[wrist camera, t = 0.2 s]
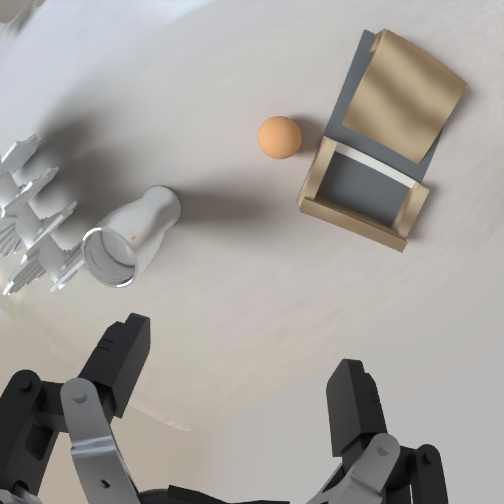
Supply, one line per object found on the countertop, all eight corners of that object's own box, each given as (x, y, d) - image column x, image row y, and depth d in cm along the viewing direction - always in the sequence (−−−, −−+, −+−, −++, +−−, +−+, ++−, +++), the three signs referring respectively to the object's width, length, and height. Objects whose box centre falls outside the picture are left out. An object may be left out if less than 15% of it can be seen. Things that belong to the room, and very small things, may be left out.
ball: (266, 110, 31) (265, 109, 27) (305, 124, 32) (311, 126, 27) (252, 147, 34) (249, 153, 29) (291, 161, 34) (294, 169, 30)
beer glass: (141, 178, 36) (77, 218, 23) (188, 188, 37) (141, 235, 23) (136, 224, 39) (81, 279, 26) (180, 235, 40) (139, 298, 26)
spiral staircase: (89, 251, 47) (20, 149, 37) (127, 229, 36) (37, 92, 26) (26, 321, 35) (-52, 207, 25) (34, 329, 24) (-70, 162, 14)
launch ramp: (373, 36, 26) (388, 25, 21) (445, 81, 27) (468, 80, 22) (339, 124, 32) (351, 127, 27) (415, 163, 33) (435, 173, 28)
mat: (364, 29, 25) (366, 28, 24) (456, 87, 26) (459, 87, 26) (296, 200, 36) (297, 202, 36) (391, 239, 38) (393, 241, 37)
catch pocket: (323, 136, 32) (329, 139, 28) (419, 184, 33) (433, 192, 30) (297, 200, 36) (299, 211, 33) (391, 239, 38) (402, 252, 34)
